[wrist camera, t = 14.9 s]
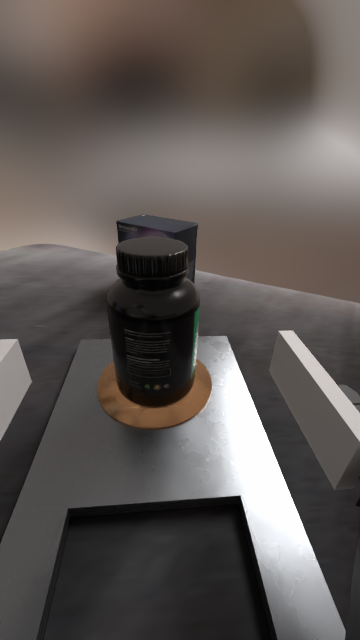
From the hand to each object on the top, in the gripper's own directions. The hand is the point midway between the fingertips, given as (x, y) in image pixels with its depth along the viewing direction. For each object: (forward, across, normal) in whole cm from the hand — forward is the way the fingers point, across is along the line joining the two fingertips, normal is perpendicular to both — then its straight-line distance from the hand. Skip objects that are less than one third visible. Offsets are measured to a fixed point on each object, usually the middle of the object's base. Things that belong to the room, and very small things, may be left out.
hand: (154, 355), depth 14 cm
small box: (+30, +1, -10) cm, 31 cm away
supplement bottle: (+7, 0, -8) cm, 11 cm away
